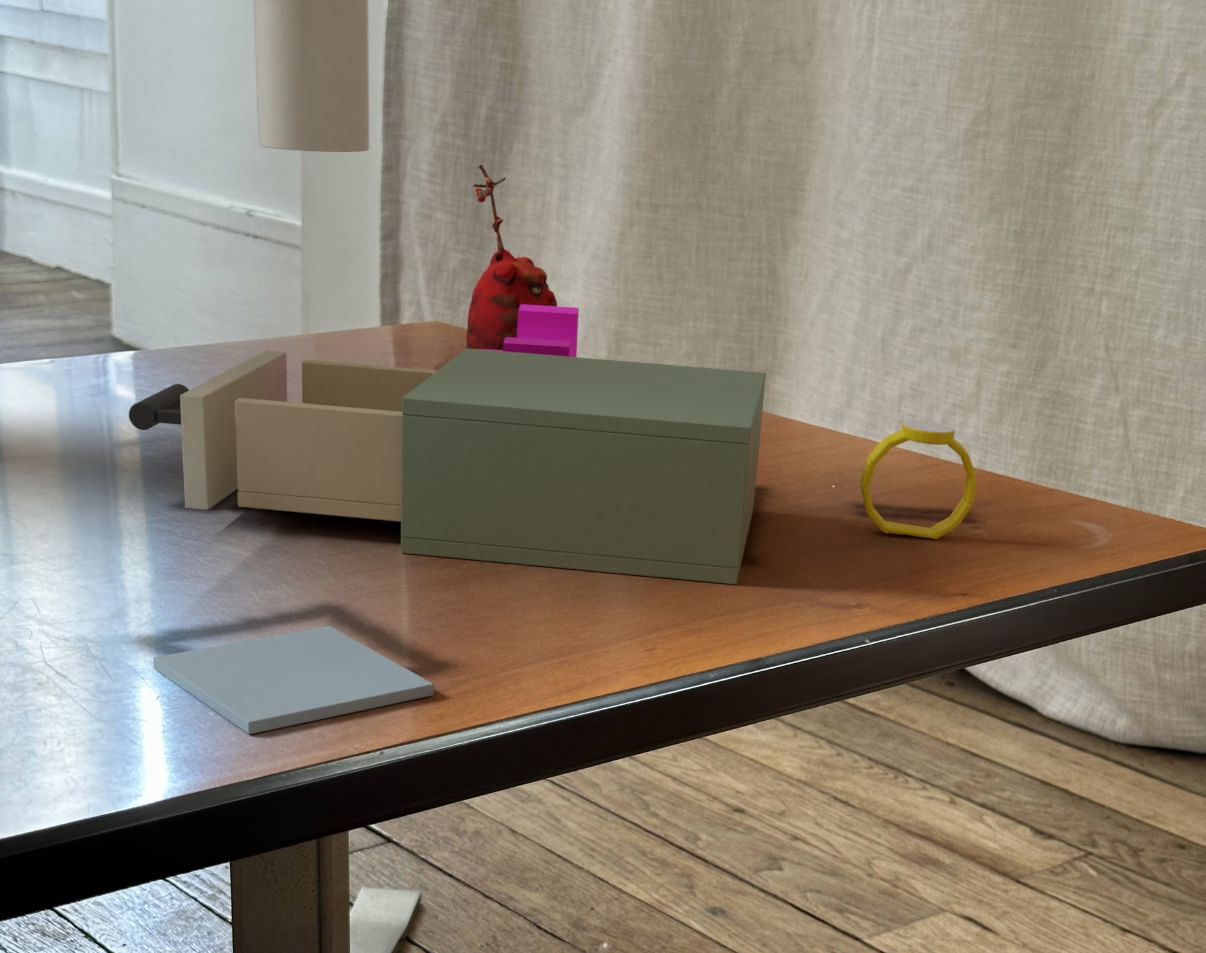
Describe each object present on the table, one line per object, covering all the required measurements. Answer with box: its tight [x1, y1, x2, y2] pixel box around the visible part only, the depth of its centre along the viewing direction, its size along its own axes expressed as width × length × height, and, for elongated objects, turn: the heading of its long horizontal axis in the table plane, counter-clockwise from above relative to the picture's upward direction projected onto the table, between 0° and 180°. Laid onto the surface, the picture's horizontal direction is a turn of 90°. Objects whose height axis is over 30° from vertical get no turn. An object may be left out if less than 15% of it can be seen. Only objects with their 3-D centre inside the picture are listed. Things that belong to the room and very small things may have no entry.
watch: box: [859, 419, 978, 540], centre depth 91 cm, size 6×3×6 cm, turn 87°
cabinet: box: [400, 347, 767, 585], centre depth 88 cm, size 17×15×8 cm
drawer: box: [128, 350, 437, 523], centre depth 90 cm, size 20×13×6 cm
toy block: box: [481, 304, 580, 357], centre depth 105 cm, size 15×6×8 cm, turn 179°
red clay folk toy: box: [465, 164, 558, 350], centre depth 121 cm, size 8×7×15 cm
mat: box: [153, 625, 435, 735], centre depth 67 cm, size 8×8×1 cm
